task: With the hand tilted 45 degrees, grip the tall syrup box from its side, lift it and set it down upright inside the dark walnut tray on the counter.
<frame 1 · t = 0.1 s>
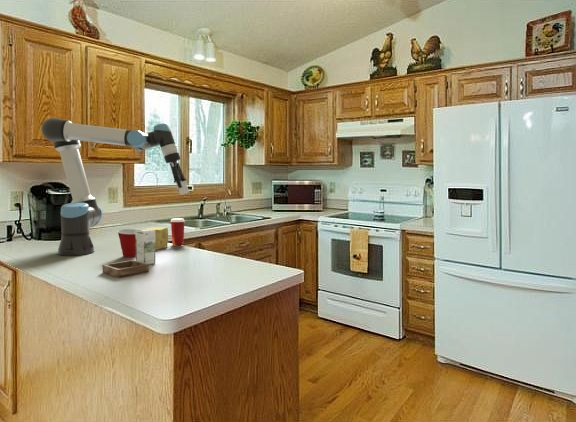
hand: (185, 193, 204), 28 cm above the worktop, tool tilted 20°, fingers open, 13 cm apart
syrup box: (145, 264, 166), on the worktop
cheese: (154, 247, 206), on the worktop
paper cup: (177, 245, 214), on the worktop
tray: (125, 272, 151), on the worktop
plastic cup: (130, 256, 182), on the worktop
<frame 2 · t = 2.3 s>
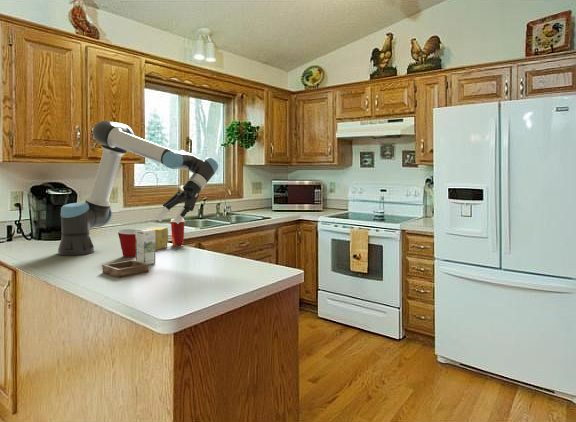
hand: (166, 220, 172), 17 cm above the worktop, tool tilted 45°, fingers open, 13 cm apart
nothing on the worktop moved.
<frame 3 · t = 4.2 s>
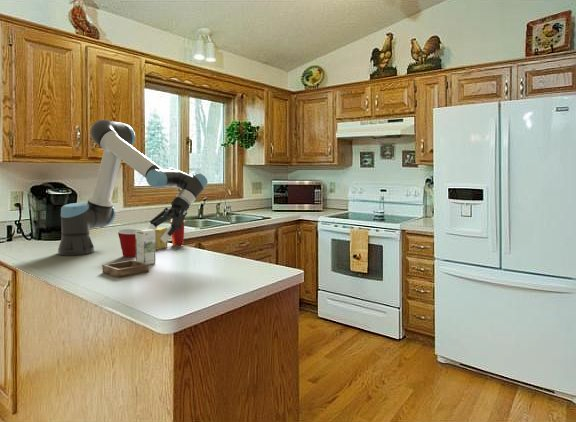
hand: (153, 239, 167), 10 cm above the worktop, tool tilted 45°, fingers open, 13 cm apart
nothing on the worktop moved.
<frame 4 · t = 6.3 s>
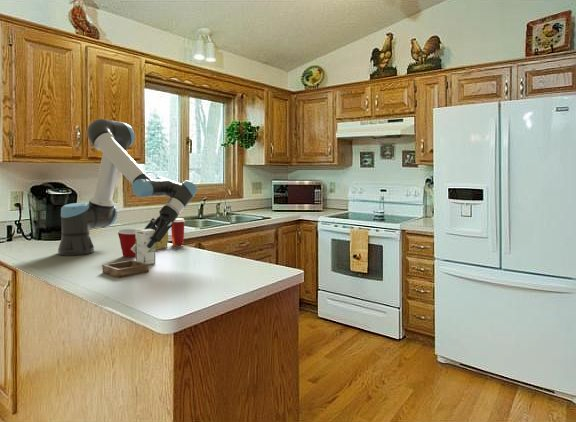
hand: (137, 252, 163), 5 cm above the worktop, tool tilted 45°, fingers closed on syrup box, 6 cm apart
syrup box: (145, 264, 166), on the worktop, touching gripper
everything else where it was.
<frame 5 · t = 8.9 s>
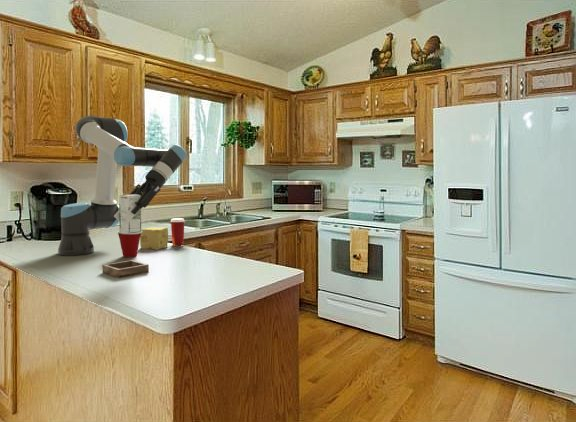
hand: (121, 219, 149), 20 cm above the worktop, tool tilted 45°, fingers closed on syrup box, 6 cm apart
syrup box: (130, 232, 152), point 15 cm above the worktop, touching gripper
everything else where it was.
when the fingers open (8 cm above the worktop, at t = 11.8 s): syrup box drops 1 cm, resting on tray.
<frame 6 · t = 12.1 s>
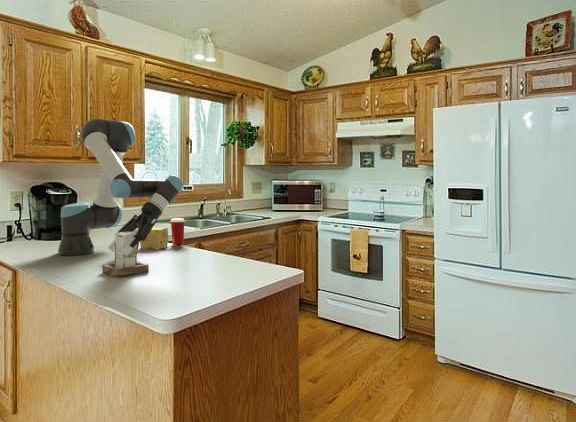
hand: (117, 251, 148), 8 cm above the worktop, tool tilted 45°, fingers open, 9 cm apart
syrup box: (126, 270, 151), point 1 cm above the worktop, touching tray
everything else where it was.
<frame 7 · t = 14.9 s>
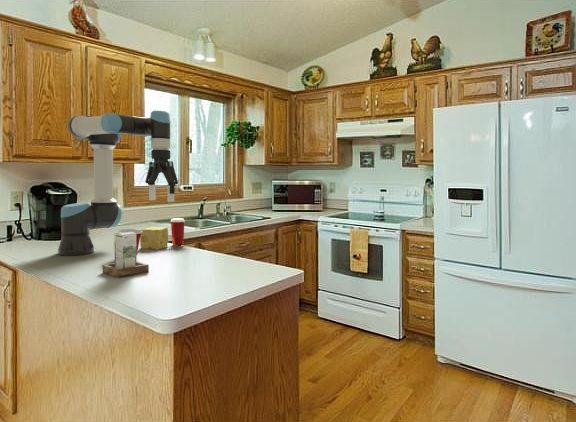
hand: (161, 201, 165), 26 cm above the worktop, tool pointing down, fingers open, 13 cm apart
nothing on the worktop moved.
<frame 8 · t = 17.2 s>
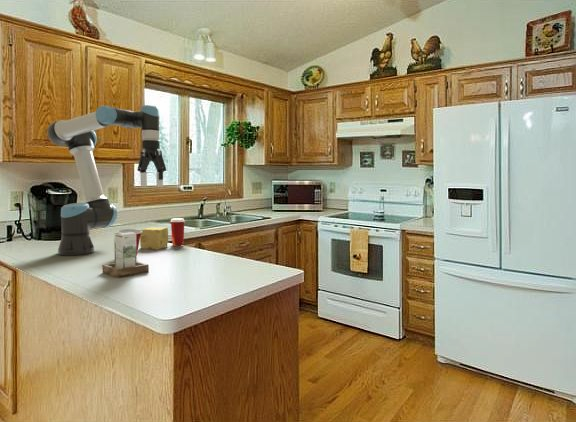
hand: (151, 186, 184), 32 cm above the worktop, tool pointing down, fingers open, 13 cm apart
nothing on the worktop moved.
at the end: syrup box inside the target area on the tray (0.2 cm from its centre), point 0.6 cm above the tray's base; syrup box tilted 0°; the gripper is holding nothing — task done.
